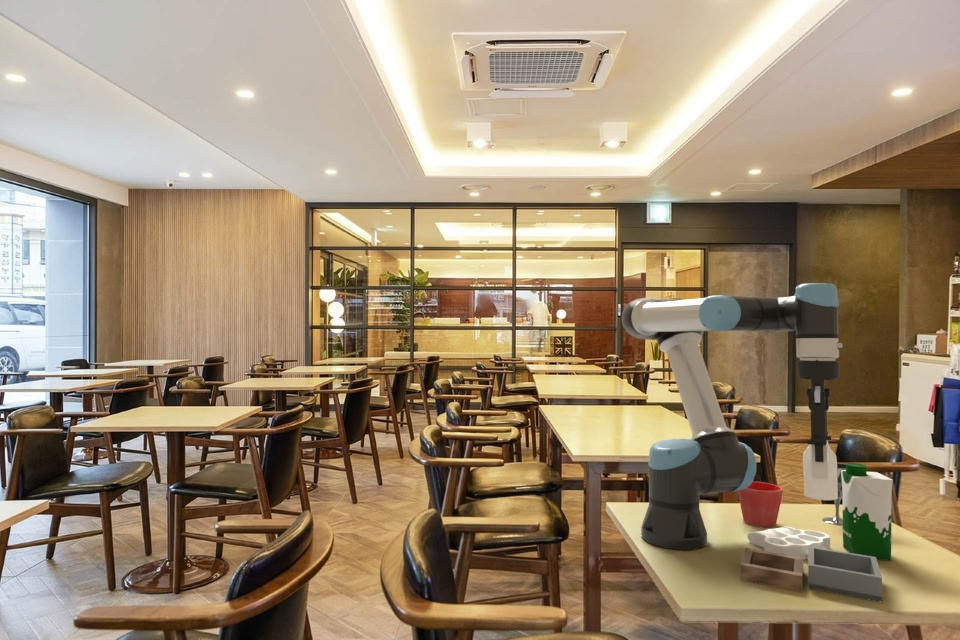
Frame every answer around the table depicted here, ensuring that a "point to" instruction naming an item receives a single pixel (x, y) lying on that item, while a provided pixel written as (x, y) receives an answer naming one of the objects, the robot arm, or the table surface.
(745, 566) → the holder
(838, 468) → the wine glass
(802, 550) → the white brass knuckles
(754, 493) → the flower pot
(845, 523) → the milk carton
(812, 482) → the white tall rounded piece
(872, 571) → the tray
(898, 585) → the table surface
